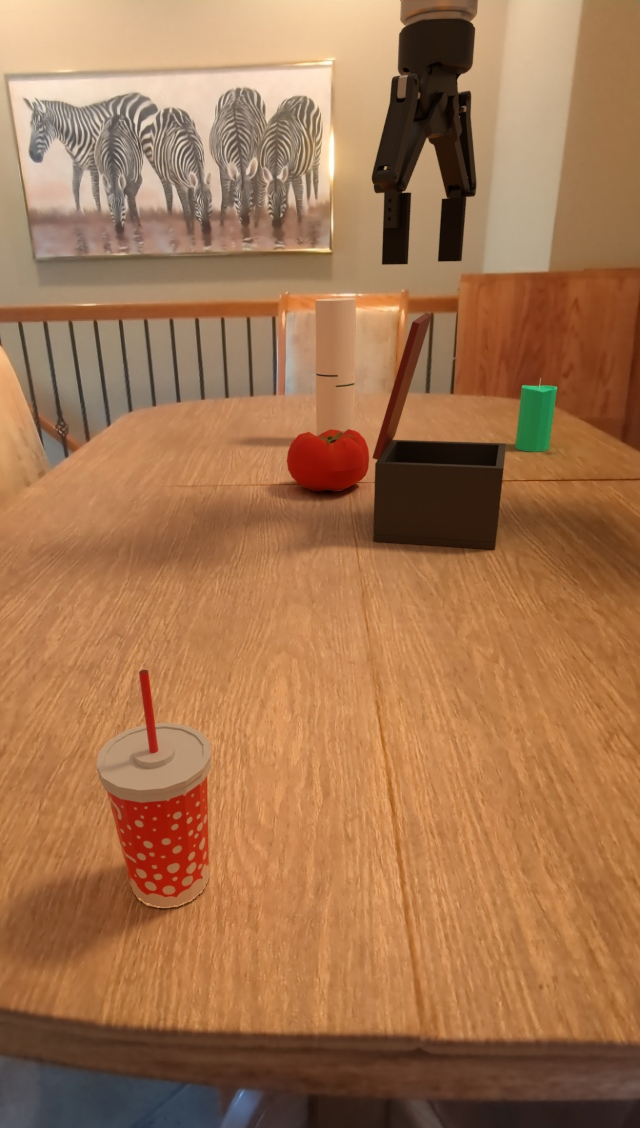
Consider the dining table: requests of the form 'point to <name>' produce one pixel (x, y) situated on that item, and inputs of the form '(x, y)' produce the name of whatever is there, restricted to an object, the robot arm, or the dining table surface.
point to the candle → (535, 418)
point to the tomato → (328, 460)
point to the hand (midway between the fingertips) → (423, 263)
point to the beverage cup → (160, 805)
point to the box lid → (402, 383)
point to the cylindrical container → (335, 364)
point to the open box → (438, 493)
